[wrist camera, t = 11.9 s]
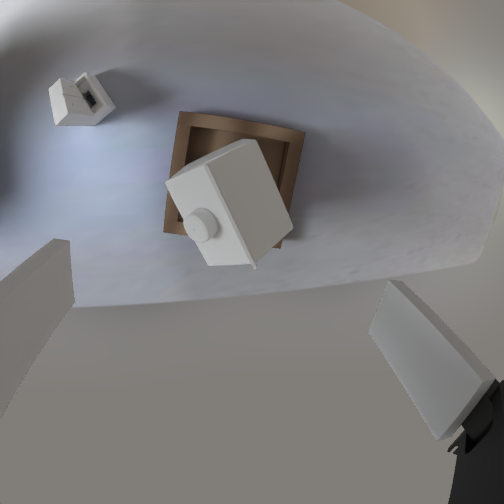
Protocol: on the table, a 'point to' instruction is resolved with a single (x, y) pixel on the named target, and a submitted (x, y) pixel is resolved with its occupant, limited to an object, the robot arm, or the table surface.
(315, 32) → the table surface
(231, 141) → the square wooden tray
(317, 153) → the table surface
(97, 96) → the white angled block
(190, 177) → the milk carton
